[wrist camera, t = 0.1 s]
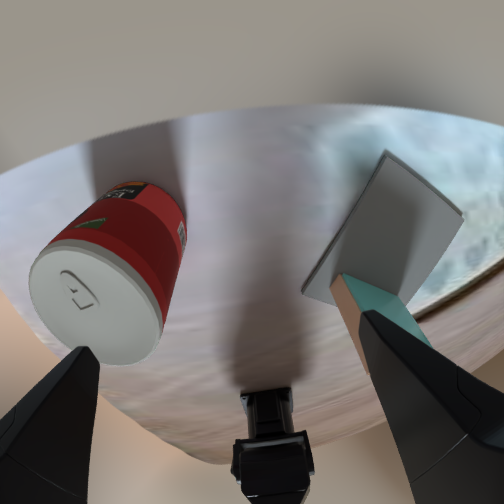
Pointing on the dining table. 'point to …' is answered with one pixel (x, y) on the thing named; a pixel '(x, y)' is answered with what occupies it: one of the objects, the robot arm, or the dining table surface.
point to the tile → (366, 298)
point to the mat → (388, 237)
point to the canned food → (112, 274)
